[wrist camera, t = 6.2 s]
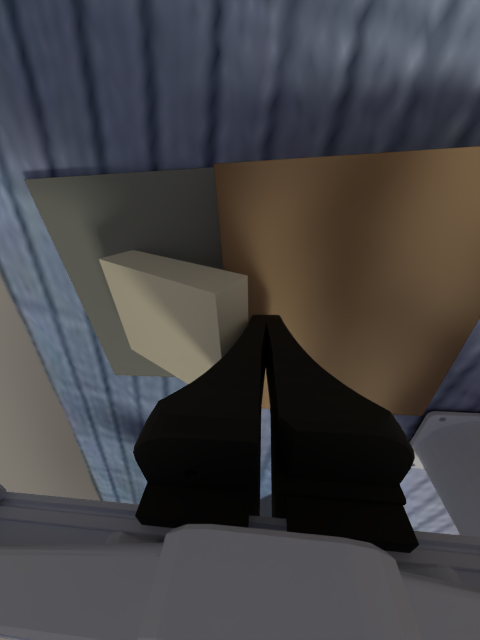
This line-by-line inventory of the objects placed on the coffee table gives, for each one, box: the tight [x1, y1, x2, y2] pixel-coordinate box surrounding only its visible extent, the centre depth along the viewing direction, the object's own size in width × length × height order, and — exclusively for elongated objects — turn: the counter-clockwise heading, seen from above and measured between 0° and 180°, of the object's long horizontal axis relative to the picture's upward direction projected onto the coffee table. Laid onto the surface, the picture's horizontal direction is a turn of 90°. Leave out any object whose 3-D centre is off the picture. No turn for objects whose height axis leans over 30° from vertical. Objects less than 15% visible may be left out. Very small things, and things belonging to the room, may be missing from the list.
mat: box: [24, 167, 223, 377], centre depth 15 cm, size 10×14×1 cm
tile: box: [99, 250, 248, 384], centre depth 12 cm, size 8×6×2 cm
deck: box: [214, 146, 480, 416], centre depth 13 cm, size 12×14×3 cm
